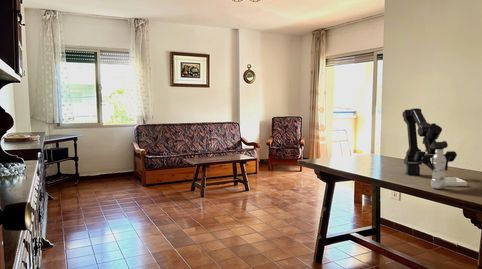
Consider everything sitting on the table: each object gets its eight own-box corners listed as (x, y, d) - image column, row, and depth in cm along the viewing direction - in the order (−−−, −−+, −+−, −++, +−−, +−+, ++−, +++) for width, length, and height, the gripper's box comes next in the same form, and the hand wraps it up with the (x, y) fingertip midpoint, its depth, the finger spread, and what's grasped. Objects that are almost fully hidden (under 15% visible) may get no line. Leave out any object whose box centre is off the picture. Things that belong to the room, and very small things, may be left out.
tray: (442, 186, 179) (442, 181, 178) (433, 181, 189) (434, 177, 189) (466, 186, 177) (467, 181, 177) (456, 181, 188) (456, 177, 187)
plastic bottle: (440, 186, 178) (441, 148, 176) (448, 190, 171) (449, 149, 169) (427, 187, 178) (428, 148, 176) (435, 190, 171) (436, 150, 169)
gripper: (416, 135, 177) (424, 160, 167) (455, 135, 175) (466, 160, 165) (410, 149, 186) (418, 173, 176) (448, 148, 183) (457, 173, 173)
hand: (439, 170), depth 172 cm, fingers closed on plastic bottle, 6 cm apart
